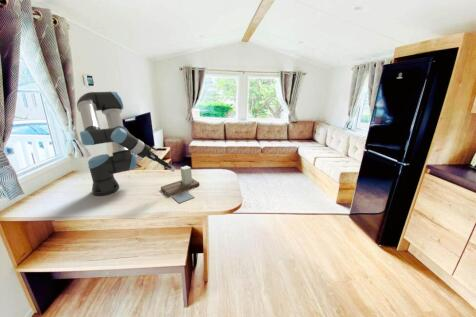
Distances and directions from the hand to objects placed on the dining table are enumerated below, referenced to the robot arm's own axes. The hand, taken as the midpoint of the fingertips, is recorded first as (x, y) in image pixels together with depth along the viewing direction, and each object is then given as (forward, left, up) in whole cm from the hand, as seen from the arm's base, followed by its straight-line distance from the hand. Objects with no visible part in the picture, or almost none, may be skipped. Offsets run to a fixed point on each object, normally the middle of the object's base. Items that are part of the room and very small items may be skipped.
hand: (169, 167), depth 129 cm
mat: (+13, +1, -16) cm, 21 cm away
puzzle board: (0, +6, -16) cm, 17 cm away
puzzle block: (0, +11, -16) cm, 20 cm away
